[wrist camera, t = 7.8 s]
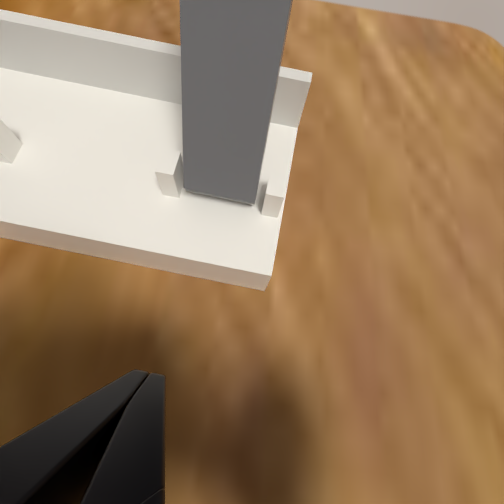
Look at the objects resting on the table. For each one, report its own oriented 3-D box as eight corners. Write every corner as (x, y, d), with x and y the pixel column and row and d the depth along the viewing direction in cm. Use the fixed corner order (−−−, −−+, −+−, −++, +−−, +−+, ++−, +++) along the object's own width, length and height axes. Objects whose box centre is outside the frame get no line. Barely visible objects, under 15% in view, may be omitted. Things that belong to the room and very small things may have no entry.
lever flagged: (256, 217, 15) (319, -107, 8) (177, 201, 15) (164, -139, 8) (262, 189, 16) (320, -106, 9) (190, 174, 16) (190, -132, 9)
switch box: (264, 290, 18) (281, 254, 12) (-84, 220, 18) (-228, 150, 12) (290, 150, 21) (313, 68, 15) (-6, 90, 21) (-92, -14, 15)
